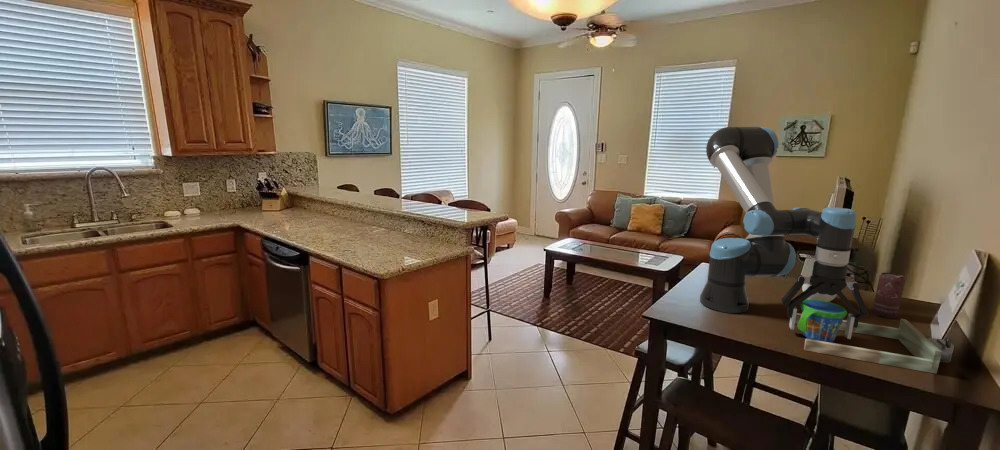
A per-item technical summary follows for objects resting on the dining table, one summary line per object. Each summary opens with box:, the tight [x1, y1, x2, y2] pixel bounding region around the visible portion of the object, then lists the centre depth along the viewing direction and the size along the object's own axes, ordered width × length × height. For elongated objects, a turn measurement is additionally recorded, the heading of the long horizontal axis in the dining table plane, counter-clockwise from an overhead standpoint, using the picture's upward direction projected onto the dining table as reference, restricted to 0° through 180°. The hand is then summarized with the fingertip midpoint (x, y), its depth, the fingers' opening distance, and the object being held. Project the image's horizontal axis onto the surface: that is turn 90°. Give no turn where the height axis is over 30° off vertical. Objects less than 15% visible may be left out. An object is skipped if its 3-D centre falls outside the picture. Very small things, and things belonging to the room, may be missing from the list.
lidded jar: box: [801, 274, 838, 302], centre depth 149 cm, size 11×11×9 cm
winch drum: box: [927, 337, 955, 364], centre depth 109 cm, size 5×6×7 cm
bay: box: [795, 312, 942, 374], centre depth 118 cm, size 27×20×6 cm
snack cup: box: [797, 299, 848, 343], centre depth 121 cm, size 16×10×10 cm
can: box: [872, 272, 906, 319], centre depth 136 cm, size 6×6×14 cm
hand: (818, 332), depth 121 cm, fingers open, 13 cm apart
